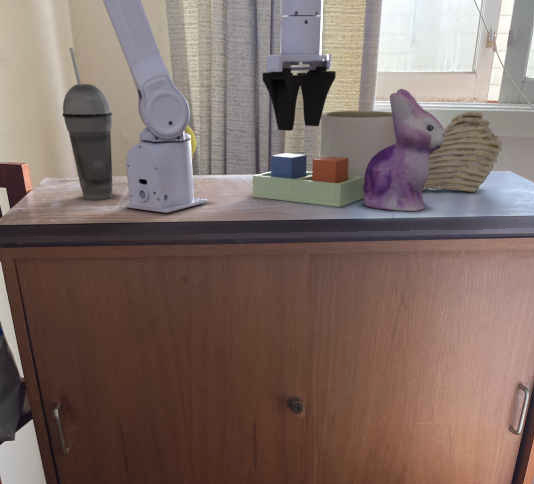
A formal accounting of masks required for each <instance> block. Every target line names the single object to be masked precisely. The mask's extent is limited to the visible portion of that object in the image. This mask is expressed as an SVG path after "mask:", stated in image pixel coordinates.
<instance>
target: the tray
mask: <svg viewBox="0 0 534 484" xmlns="http://www.w3.org/2000/svg"><path fill="white" fill-rule="evenodd" d="M364 182H365V177H362V176H361V177H360V176H351V175H348V180H347V181H344V182H341V183H331V182H321V181H312V171H309V170H306V176H305V177H301V178H297V179H291V178H281V177H271V170H270V171H266V172H262V173H258V174H254V175H252V197H253V198H260V199H268V200H269V199H270V200H277V201H285V202H293V203H303V204H310V205H319V206H326V207H327V206H328V207H337V208H340V207H343V206H346V205H349V204H351V203H352V204H353V203H355V202H357V201H360V200H363V198H364V193H363V191H362V187H363V185H364Z"/></svg>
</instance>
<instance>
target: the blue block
mask: <svg viewBox="0 0 534 484" xmlns="http://www.w3.org/2000/svg"><path fill="white" fill-rule="evenodd" d="M307 155H308V154H301V153H289V152H283V153H278V154H273V155H270V171H271V177H281V178H291V179H297V178H301V177H305V176H306V171H307V161H308V159H307V157H308V156H307Z"/></svg>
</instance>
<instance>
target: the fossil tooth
mask: <svg viewBox="0 0 534 484" xmlns="http://www.w3.org/2000/svg"><path fill="white" fill-rule="evenodd" d="M483 117H484V114H483V112H477V111H468V112H462V113H460V114H457V115H456V116H454V117H452V119H451V120H450V122H449V123H448V124H447V125H446V126H445V128H444V129H445V133H446V134H445V138H444V142H443V144H442V146H441V147H440V148H439V149H438V150H436V151H434V152H432V153H431V154H430V156H429V176H428V178H427V180H426V182H425V185H424V187H423V188H422V191H423V190H428V189H429V190H430V189H434V190H439V189H440V190H454V191H460V192H468V193H475V192H477V191H478V190H479V189H480V186H481V185H483V183H484V182H485V181H486V180H487V178H488V177H489V175H490V174H491V172H492V171H493V169H494V165H495V164H497V162H498V160H497V159H498V158H499V157H500V155H499V154H500V153H501V152H502V149H503V147H502V145H503V142H502V141H501V140H499V139H498V137H499V135H495V133H494V132H493V131H492V129H491V128H489V125H490V124H491V123H490V121H489V120H488V119H486V118H483Z"/></svg>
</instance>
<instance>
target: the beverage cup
mask: <svg viewBox="0 0 534 484" xmlns="http://www.w3.org/2000/svg"><path fill="white" fill-rule="evenodd" d="M69 52H70V56H71V62H72V66H73V70H74V74H75V79H76V84H75V85H73V86H71V87H70V88H69V89H68V91H67V92H66V93H65V95H64V98H63V102H62V117H63V119H64V123H65V127H66V130H67V132H68V135H69V139H70V145H71V148H72V155H73V159H74V162H75V167H76V172H77V176H78V180H79V181H78V182H79V186H80V188H81V192H82V197H83V199H85V200H89V201H91V200H92V201H93V200H95V201H97V200H98V201H99V200H107V199H111V198H113V185H114V184H113V161H112V139H111V138H112V135H111V131H112V122H113V121H112V116H113V113H112V111H111V105H110V104H109V100H108V98H107V97H106V95H105V94H104V93H103V92H102V90H101V89H99V87H97V86H95V85H93V84H90V83H82V81H81V78H80V73H79V68H78V64H77V60H76V56H75V51H74V48H73V47H69Z"/></svg>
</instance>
